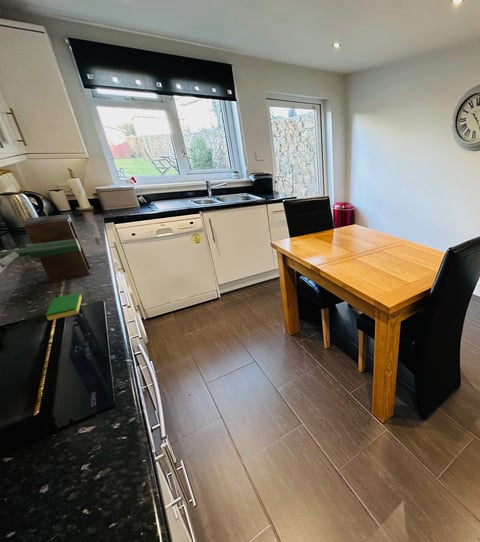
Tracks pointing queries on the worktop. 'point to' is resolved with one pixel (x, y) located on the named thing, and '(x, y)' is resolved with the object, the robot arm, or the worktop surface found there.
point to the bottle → (46, 248)
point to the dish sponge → (64, 306)
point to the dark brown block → (56, 231)
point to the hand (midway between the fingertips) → (18, 251)
